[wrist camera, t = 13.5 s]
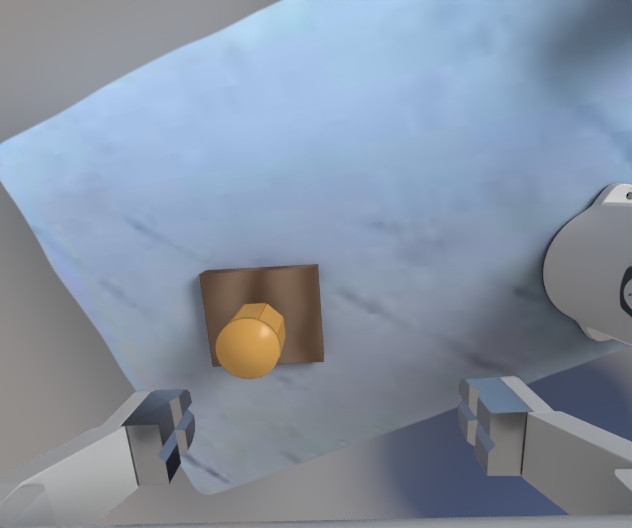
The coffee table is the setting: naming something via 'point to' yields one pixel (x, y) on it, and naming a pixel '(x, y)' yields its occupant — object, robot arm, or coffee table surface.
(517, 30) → the coffee table surface
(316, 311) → the wooden peg stand
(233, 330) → the domed octagonal prism
